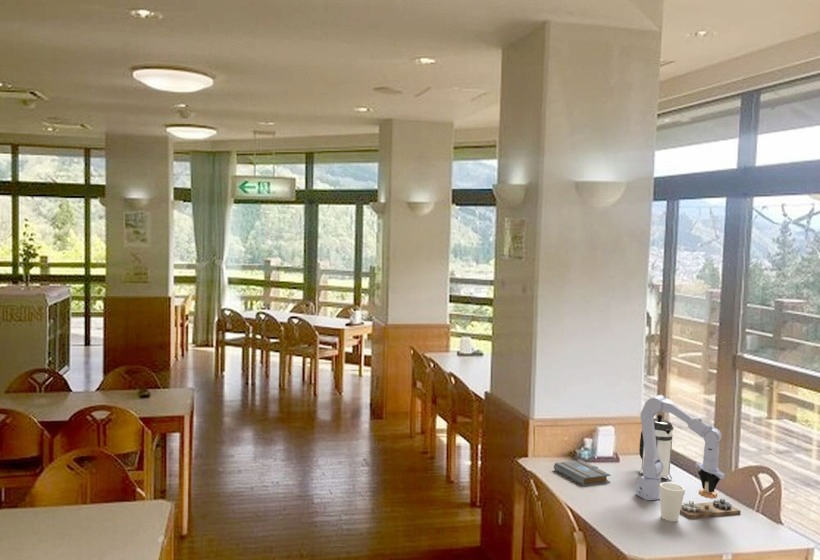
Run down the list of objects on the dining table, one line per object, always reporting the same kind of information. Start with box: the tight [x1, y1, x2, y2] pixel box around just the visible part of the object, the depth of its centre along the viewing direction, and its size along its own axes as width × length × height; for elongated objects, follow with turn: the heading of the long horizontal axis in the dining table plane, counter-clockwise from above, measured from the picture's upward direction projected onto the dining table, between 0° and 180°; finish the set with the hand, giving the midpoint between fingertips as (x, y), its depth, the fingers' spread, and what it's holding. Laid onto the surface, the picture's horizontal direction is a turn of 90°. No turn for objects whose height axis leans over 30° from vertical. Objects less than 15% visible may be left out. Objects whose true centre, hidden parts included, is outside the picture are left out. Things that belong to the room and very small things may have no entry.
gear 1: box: [682, 500, 701, 513], centre depth 284 cm, size 7×7×3 cm
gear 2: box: [712, 498, 732, 510], centre depth 289 cm, size 7×7×3 cm
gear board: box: [679, 501, 741, 520], centre depth 287 cm, size 26×10×3 cm, turn 109°
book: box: [553, 459, 611, 487], centre depth 322 cm, size 21×16×5 cm
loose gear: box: [698, 481, 718, 500], centre depth 286 cm, size 7×7×6 cm
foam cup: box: [659, 482, 686, 522], centre depth 277 cm, size 10×9×13 cm
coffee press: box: [638, 414, 675, 480], centre depth 327 cm, size 17×16×30 cm
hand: (708, 490), depth 286 cm, fingers closed on loose gear, 3 cm apart
